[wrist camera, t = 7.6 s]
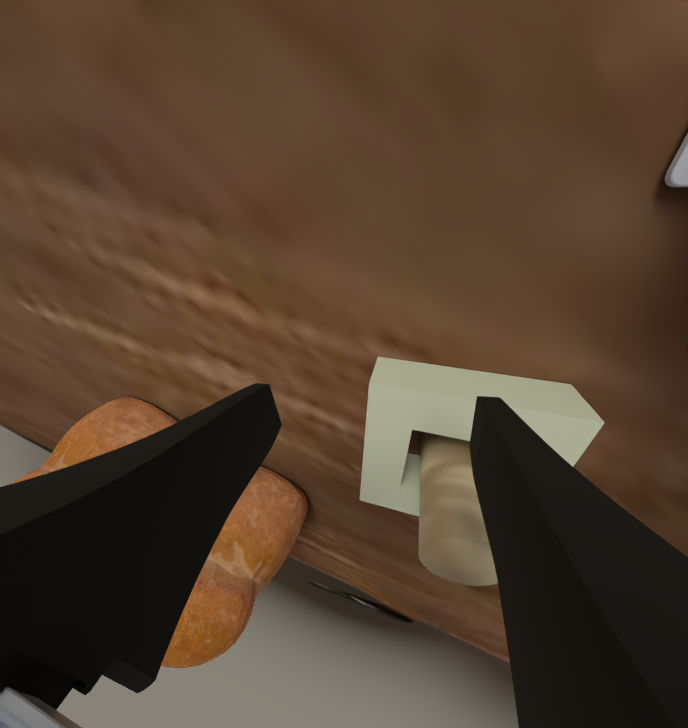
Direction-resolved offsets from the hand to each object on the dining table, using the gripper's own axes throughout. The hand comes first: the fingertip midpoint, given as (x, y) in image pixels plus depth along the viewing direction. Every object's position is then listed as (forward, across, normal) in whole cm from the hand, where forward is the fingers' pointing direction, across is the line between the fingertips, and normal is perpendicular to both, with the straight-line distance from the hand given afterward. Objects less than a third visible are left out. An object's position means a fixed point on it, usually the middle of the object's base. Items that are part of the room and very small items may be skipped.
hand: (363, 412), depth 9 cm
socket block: (+9, -4, +9) cm, 14 cm away
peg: (+9, -4, +9) cm, 14 cm away
